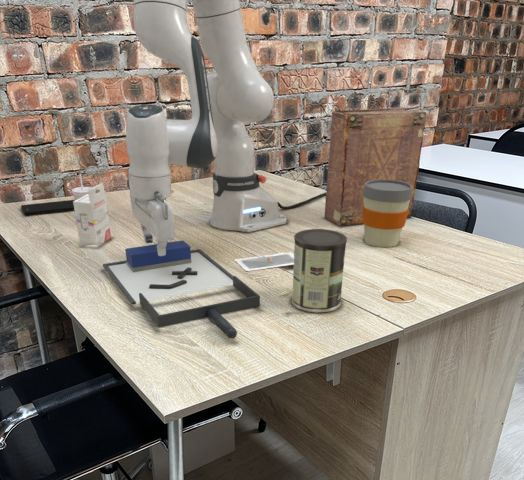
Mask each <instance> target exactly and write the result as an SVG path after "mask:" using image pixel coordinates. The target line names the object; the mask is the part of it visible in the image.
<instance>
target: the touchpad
mask: <svg viewBox="0 0 524 480" xmlns="http://www.w3.org/2000/svg"><path fill="white" fill-rule="evenodd" d="M234 261H235V262H236V263H237V264H238V265H239V266H240V267H241V268H242V269H243V270H244V271H245V272H252V271H259V270H265V269H273V268H279V267H280V268H281V267H289V266H294V253H293V252H292V251H289V252H288V251H287V252H280V253H273V254H267V255H266V254H265V255H259V256H251V257H244V258H236V259H234Z"/></svg>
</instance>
